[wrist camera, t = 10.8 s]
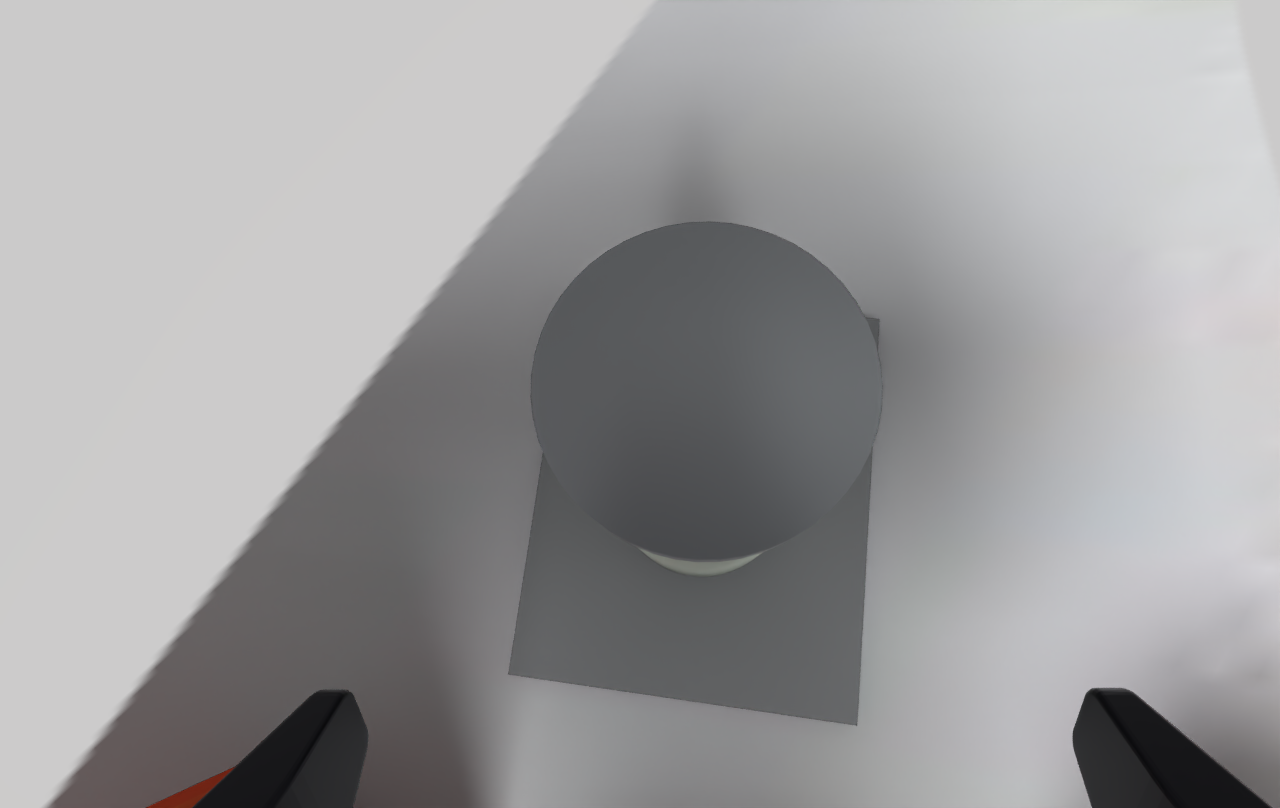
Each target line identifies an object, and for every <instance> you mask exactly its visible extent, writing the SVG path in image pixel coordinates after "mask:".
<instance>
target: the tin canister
mask: <svg viewBox="0 0 1280 808" xmlns="http://www.w3.org/2000/svg"><path fill="white" fill-rule="evenodd" d="M882 387H883V385H882V375H881V365H880V360H879V356H878V352H877V347H876V343H875V340H874V338H873V335H872V332H871V330H870V327H869V325H868V322H867V320H866V318H865V316H864V315H863V313H862V311H861V309H860V307H859V306H858V304H857V302H856V301H855V299H854V298H853V297H852V295H851V294H850V292H849V291H848V290H847V288H846V287H845V286H844V284H843V283H842V282H841V281H840V280H839V279H838V278H837V277H836V276H835V275H834V274H833V273H832V272H831V271H830V270H829V269H828V268H827V267H826V266H825V265H823V264H822V263H821V262H820V261H818V260H817V259H816V258H815V257H813V256H812V255H811V254H809V253H808V252H806V251H804V250H803V249H801V248H800V247H798V246H796V245H795V244H793V243H791V242H789V241H787V240H785V239H782V238H780V237H778V236H776V235H774V234H771V233H768V232H765V231H762V230H759V229H755V228H752V227H747V226H742V225H737V224H732V223H720V222H692V223H683V224H677V225H671V226H665V227H662V228H658V229H655V230H651V231H648V232H645V233H642V234H640V235H638V236H635V237H633V238H631V239H628V240H626V241H624V242H622V243H621V244H619V245H617V246H615V247H614V248H612V249H610V250H608V251H607V252H605V253H604V254H603V255H601V256H600V257H599V258H597V259H596V260H595V261H593V262H592V263H591V264H589V265H588V266H587V267H586V268H585V269H584V270H583V271H582V272H581V273H580V274H579V275H578V276H577V277H576V278H575V279H574V280H573V281H572V283H571V284H570V285H569V286H568V288H567V289H566V290H565V291H564V293H563V294H562V295H561V296H560V298H559V300H558V301H557V303H556V305H555V306H554V308H553V309H552V311H551V313H550V314H549V317H548V319H547V321H546V323H545V326H544V328H543V330H542V332H541V335H540V338H539V342H538V345H537V348H536V352H535V356H534V362H533V368H532V374H531V404H532V413H533V420H534V424H535V428H536V432H537V436H538V440H539V443H540V445H541V448H542V450H543V453H544V455H545V458H546V460H547V462H548V464H549V466H550V467H551V469H552V471H553V473H554V474H555V476H556V478H557V480H558V481H559V483H560V484H561V485H562V487H563V488H564V489H565V490H566V492H567V493H568V494H569V496H570V497H571V498H572V499H573V500H574V501H575V502H576V503H577V504H578V505H579V506H580V507H581V508H582V509H583V510H584V511H585V512H586V513H587V514H588V515H589V516H590V517H591V518H593V519H594V520H595V521H597V522H598V523H599V524H601V525H602V526H603V527H605V528H606V529H607V530H608V531H610V532H611V533H612V534H614V535H615V536H617V537H619V538H621V539H622V540H624V541H626V542H628V543H629V544H631V545H633V546H635V547H637V548H639V549H640V550H641V551H642V552H643V553H644V554H646V555H647V556H648V557H649V558H651V559H652V560H653V561H655V562H656V563H658V564H659V565H661V566H663V567H665V568H667V569H669V570H671V571H674V572H676V573H680V574H684V575H689V576H697V577H705V576H716V575H721V574H725V573H728V572H731V571H734V570H736V569H738V568H740V567H742V566H744V565H746V564H747V563H749V562H750V561H752V560H753V559H755V558H756V557H757V556H759V555H760V554H761V553H763V552H765V551H767V550H770V549H772V548H774V547H776V546H779V545H781V544H783V543H785V542H787V541H788V540H790V539H791V538H793V537H795V536H796V535H798V534H800V533H801V532H803V531H804V530H806V529H807V528H809V527H810V526H812V525H813V524H814V523H816V522H817V521H818V520H819V519H820V518H822V517H823V516H824V515H825V514H826V513H828V512H829V511H830V510H831V509H832V508H833V507H834V506H835V505H836V504H837V503H838V501H839V500H840V499H841V498H842V497H843V496H844V495H845V494H846V493H847V491H848V490H849V488H850V487H851V485H852V484H853V483H854V481H855V480H856V478H857V477H858V475H859V474H860V472H861V470H862V468H863V466H864V464H865V462H866V460H867V458H868V456H869V454H870V452H871V449H872V446H873V443H874V440H875V437H876V434H877V431H878V425H879V420H880V414H881V409H882Z"/></svg>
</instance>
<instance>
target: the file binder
mask: <svg viewBox="0 0 1280 808" xmlns="http://www.w3.org/2000/svg"><path fill="white" fill-rule="evenodd" d="M235 767H236V766H235ZM235 767H233V768H235ZM233 768H231V769H229V770H227V771H224V772H222V773H220V774H218V775H216V776H214V777H211V778H209V779H207V780H205V781H203V782H200V783H198V784H196V785H194V786H192V787H190V788H187V789H185V790H183V791H181V792H179V793H177V794H174V795H172V796H170V797H168V798H166V799H164V800H161V801H159V802H157V803H155V804H153V805H151V806H148V807H146V808H192V807H193V806H194V805H195V804H196V803H197V802H198V801H199V800H200V799H202V798H203V797H204V796H205V795H206V794H207V793H208V792H209V791H210V790H211V789H212V788H213V787H214V786H215V785H216V784H217V783H219V782H220V781H221V780H222V779H223V778H224V777H225V776H226V775H227V774H228V773H229V772H230V771H231V770H232V769H233Z"/></svg>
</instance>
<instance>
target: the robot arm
mask: <svg viewBox="0 0 1280 808" xmlns="http://www.w3.org/2000/svg"><path fill="white" fill-rule="evenodd" d="M367 747H368V731H367V727H366V725H365V722H364V720H363V717H362V715H361V712H360V710H359V707H358V705H357V702H356V700H355V698H354V696H353V694H352V693H351V692H350V691H348V690H320V691H317V692H316V693H314V694H312V695H311V696H310V697H309V698H308V699H307V700H306V701H305V702H304V703H303V704H301V705H300V706H299V707H298V708H297V709H296V710H295V711H294V712H293V713H292V714H291V715H290V716H289V717H288V718H287V719H286V720H284V721H283V722H282V723H281V724H280V725H279V726H278V727H277V728H276V729H275V730H274V731H273V732H272V733H271V734H270V735H269V736H267V737H266V738H265V739H264V740H263V741H262V742H261V743H260V744H259V745H258V746H257V747H256V748H255V749H254V750H253V751H252V752H250V753H249V754H248V755H247V756H246V757H245V758H244V759H243V760H242V761H241V762H240V763H239V764H238V765H237V766H236V767H235V768H233V769H232V770H231V771H230V772H229V773H228V774H227V775H226V776H225V777H224V778H223V779H222V780H221V781H220V782H219V783H217V784H216V785H215V786H214V787H213V788H212V789H211V790H210V791H209V792H208V793H207V794H206V795H205V796H204V797H203V798H202V799H200V800H199V801H198V802H197V803H196V804H195V805H194V806H193V807H192V808H353V806H354V802H355V798H356V794H357V789H358V785H359V781H360V777H361V773H362V769H363V765H364V760H365V756H366V752H367ZM1073 747H1074V752H1075V755H1076V758H1077V762H1078V765H1079V768H1080V771H1081V774H1082V777H1083V780H1084V784H1085V787H1086V790H1087V793H1088V796H1089V799H1090V803H1091V806H1092V808H1272V807H1271V806H1270V805H1269V804H1268V803H1266V802H1265V801H1264V800H1263V799H1262V798H1260V797H1259V796H1258V795H1257V794H1256V793H1254V792H1253V791H1252V790H1251V789H1250V788H1248V787H1247V786H1246V785H1245V784H1244V783H1242V782H1241V781H1240V780H1239V779H1237V778H1236V777H1235V776H1234V775H1233V774H1231V773H1230V772H1229V771H1228V770H1227V769H1225V768H1224V767H1223V766H1222V765H1221V764H1219V763H1218V762H1217V761H1216V760H1215V759H1213V758H1212V757H1211V756H1210V755H1209V754H1207V753H1206V752H1205V751H1204V750H1203V749H1201V748H1200V747H1199V746H1198V745H1196V744H1195V743H1194V742H1193V741H1192V740H1190V739H1189V738H1188V737H1187V736H1186V735H1184V734H1183V733H1182V732H1181V731H1180V730H1178V729H1177V728H1176V727H1175V726H1174V725H1172V724H1171V723H1170V722H1169V721H1168V720H1166V719H1165V718H1164V717H1163V716H1161V715H1160V714H1159V713H1158V712H1157V711H1155V710H1154V709H1153V708H1152V707H1151V706H1149V705H1148V704H1147V703H1146V702H1145V701H1143V700H1142V699H1141V698H1140V697H1139V696H1137V695H1136V694H1135V693H1133V692H1131V691H1130V690H1127V689H1124V688H1092V689H1091V690H1089V691H1088V692H1087V693H1086V695H1085V698H1084V701H1083V703H1082V706H1081V709H1080V712H1079V715H1078V718H1077V721H1076V724H1075V727H1074V730H1073Z"/></svg>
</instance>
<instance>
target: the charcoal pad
mask: <svg viewBox="0 0 1280 808" xmlns="http://www.w3.org/2000/svg"><path fill="white" fill-rule="evenodd" d="M866 320H867V322H868V325H869V327H870V330H871V332H872V335H873V338H874V340H875V343H876V347H877V352H878V336H879V319H874V318H866ZM871 465H872V449H871V452H870V454H869V456H868V458H867V460H866V462H865V464H864V466H863V468H862V470H861V472H860V474H859V475H858V477H857V478H856V480H855V481H854V483H853V484H852V485H851V487H850V488H849V490H848V491H847V493H846V494H845V495H844V496H843V497H842V498H841V499H840V500H839V501H838V503H837V504H836V505H835V506H834V507H833V508H832V509H831V510H830V511H829V512H828V513H826V514H825V515H824V516H823V517H822V518H820V519H819V520H818V521H817V522H816V523H814V524H813V525H812V526H810V527H809V528H807V529H806V530H804V531H803V532H801V533H800V534H798V535H796V536H795V537H793V538H791V539H790V540H788V541H787V542H785V543H783V544H781V545H779V546H776V547H774V548H772V549H770V550H767V551H765V552H763V553H761V554H760V555H759V556H757V557H756V558H755V559H753V560H752V561H750V562H749V563H747V564H746V565H744V566H742V567H740V568H738V569H736V570H734V571H731V572H728V573H725V574H721V575H716V576H705V577H697V576H689V575H684V574H680V573H676V572H674V571H671V570H669V569H667V568H665V567H663V566H661V565H659V564H658V563H656V562H655V561H653V560H652V559H651V558H649V557H648V556H647V555H646V554H644V553H643V552H642V551H641V550H640V549H639V548H637V547H635V546H633V545H631V544H629V543H628V542H626V541H624V540H622V539H621V538H619V537H617V536H615V535H614V534H612V533H611V532H610V531H608V530H607V529H606V528H605V527H603V526H602V525H601V524H599V523H598V522H597V521H595V520H594V519H593V518H591V517H590V516H589V515H588V514H587V513H586V512H585V511H584V510H583V509H582V508H581V507H580V506H579V505H578V504H577V503H576V502H575V501H574V500H573V499H572V498H571V497H570V496H569V494H568V493H567V492H566V490H565V489H564V488H563V487H562V485H561V484H560V483H559V481H558V480H557V478H556V476H555V474H554V473H553V471H552V469H551V467H550V466H549V464H548V462H547V460H546V458H545V455H544V453H543V456H542V463H541V469H540V475H539V482H538V488H537V494H536V501H535V507H534V513H533V520H532V526H531V533H530V539H529V545H528V552H527V558H526V564H525V571H524V577H523V583H522V590H521V596H520V602H519V609H518V615H517V621H516V628H515V634H514V641H513V647H512V653H511V660H510V666H509V672H508V674H509V675H516V676H522V677H529V678H536V679H543V680H550V681H557V682H563V683H570V684H577V685H584V686H591V687H598V688H604V689H611V690H618V691H625V692H632V693H639V694H645V695H652V696H659V697H666V698H673V699H680V700H686V701H693V702H700V703H707V704H714V705H721V706H727V707H734V708H741V709H748V710H755V711H761V712H768V713H775V714H782V715H789V716H796V717H802V718H809V719H816V720H823V721H830V722H837V723H843V724H850V725H857V722H858V703H859V685H860V667H861V648H862V630H863V612H864V593H865V575H866V556H867V538H868V520H869V501H870V483H871Z"/></svg>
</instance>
